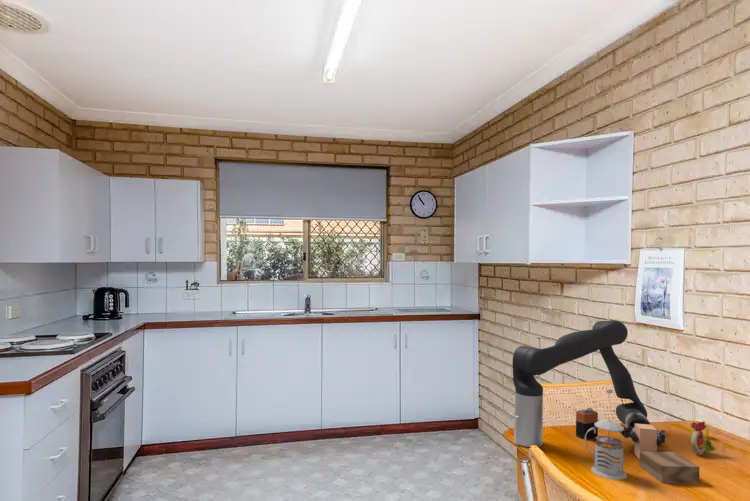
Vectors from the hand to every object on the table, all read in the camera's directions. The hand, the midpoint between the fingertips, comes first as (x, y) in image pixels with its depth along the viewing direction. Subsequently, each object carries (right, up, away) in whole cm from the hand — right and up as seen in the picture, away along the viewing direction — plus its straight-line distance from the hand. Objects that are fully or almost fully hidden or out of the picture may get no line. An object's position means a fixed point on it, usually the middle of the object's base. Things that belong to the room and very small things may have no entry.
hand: (647, 441), depth 153 cm
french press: (-18, -6, -9) cm, 21 cm away
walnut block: (+1, -6, -10) cm, 12 cm away
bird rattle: (+22, -7, +7) cm, 24 cm away
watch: (+33, -8, +25) cm, 42 cm away
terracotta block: (+1, -6, +2) cm, 7 cm away
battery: (-10, -7, +21) cm, 25 cm away
